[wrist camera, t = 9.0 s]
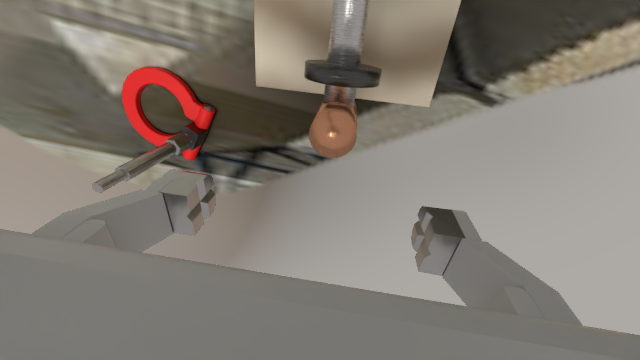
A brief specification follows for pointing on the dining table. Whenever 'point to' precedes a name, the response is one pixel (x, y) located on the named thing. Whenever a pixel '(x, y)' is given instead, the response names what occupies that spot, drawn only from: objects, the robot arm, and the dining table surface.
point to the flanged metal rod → (341, 79)
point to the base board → (378, 49)
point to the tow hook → (167, 143)
